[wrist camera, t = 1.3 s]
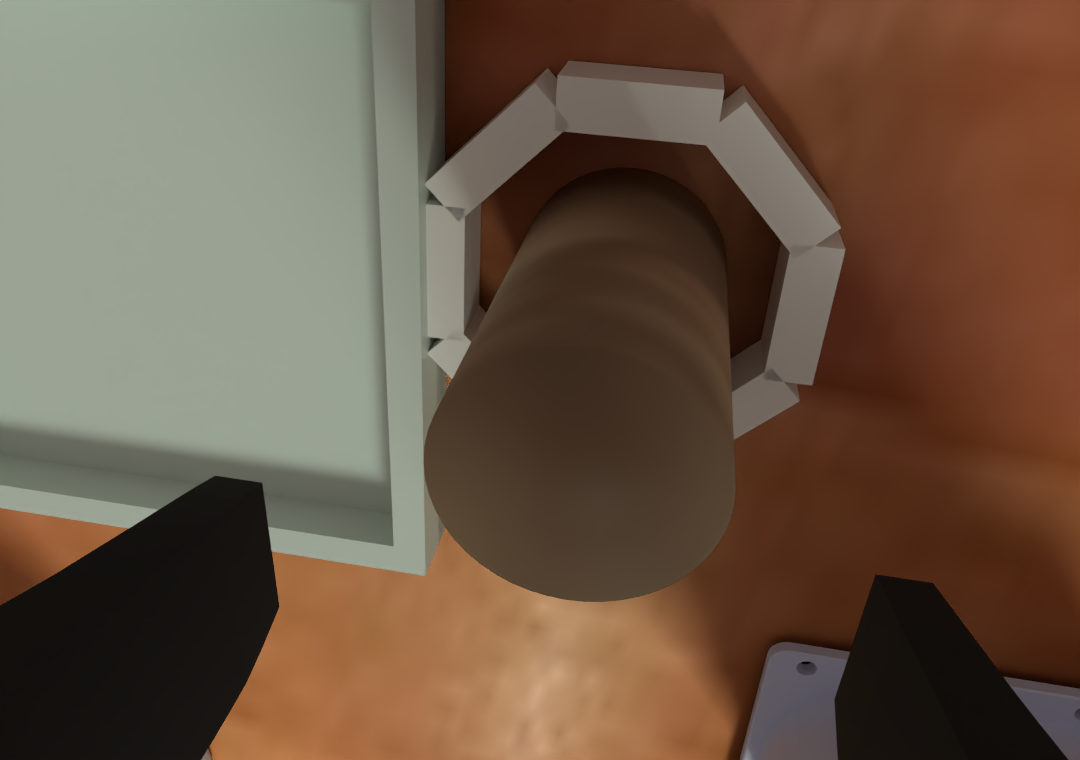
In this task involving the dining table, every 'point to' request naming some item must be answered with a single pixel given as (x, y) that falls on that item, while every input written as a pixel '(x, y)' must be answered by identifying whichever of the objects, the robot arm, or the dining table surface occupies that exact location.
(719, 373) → the walnut canister
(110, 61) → the tray
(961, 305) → the dining table surface
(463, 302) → the holder ring
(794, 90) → the dining table surface
